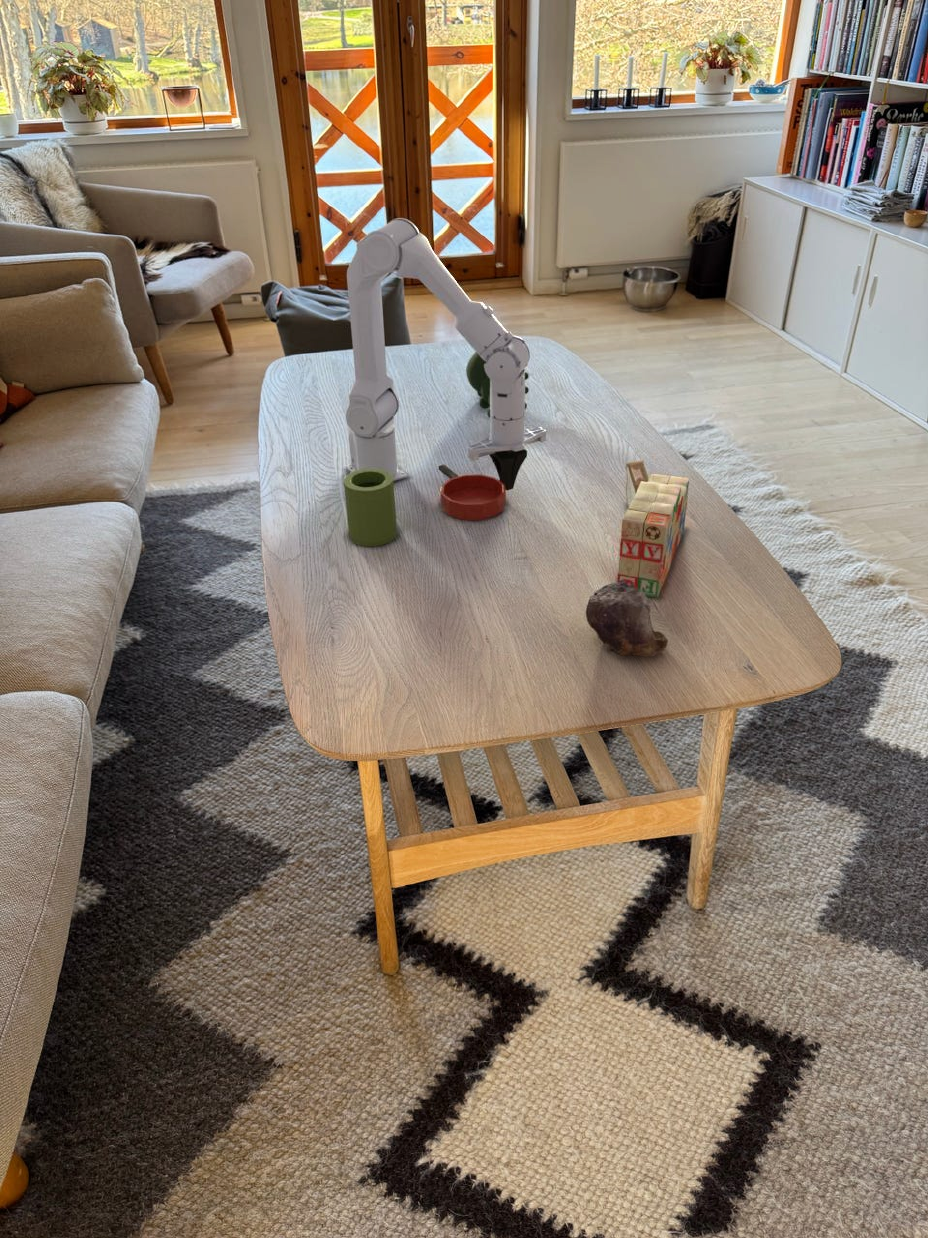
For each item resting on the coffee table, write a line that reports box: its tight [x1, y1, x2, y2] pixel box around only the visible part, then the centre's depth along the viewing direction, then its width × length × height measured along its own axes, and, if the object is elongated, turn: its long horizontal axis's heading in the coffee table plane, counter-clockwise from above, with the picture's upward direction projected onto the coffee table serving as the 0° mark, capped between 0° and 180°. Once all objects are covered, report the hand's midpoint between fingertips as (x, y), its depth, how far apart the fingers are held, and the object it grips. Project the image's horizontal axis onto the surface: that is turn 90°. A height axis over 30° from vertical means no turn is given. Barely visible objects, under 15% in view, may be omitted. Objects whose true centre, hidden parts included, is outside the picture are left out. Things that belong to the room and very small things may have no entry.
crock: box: [343, 468, 398, 547], centre depth 152 cm, size 8×8×10 cm
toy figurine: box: [465, 351, 530, 418], centre depth 191 cm, size 9×19×25 cm
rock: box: [585, 581, 669, 657], centre depth 126 cm, size 12×9×10 cm
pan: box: [437, 464, 507, 521], centre depth 163 cm, size 17×11×3 cm, turn 30°
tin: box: [625, 460, 649, 508], centre depth 154 cm, size 15×3×8 cm, turn 0°
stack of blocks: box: [616, 473, 690, 599], centre depth 143 cm, size 21×6×12 cm, turn 159°
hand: (507, 487), depth 164 cm, fingers closed
